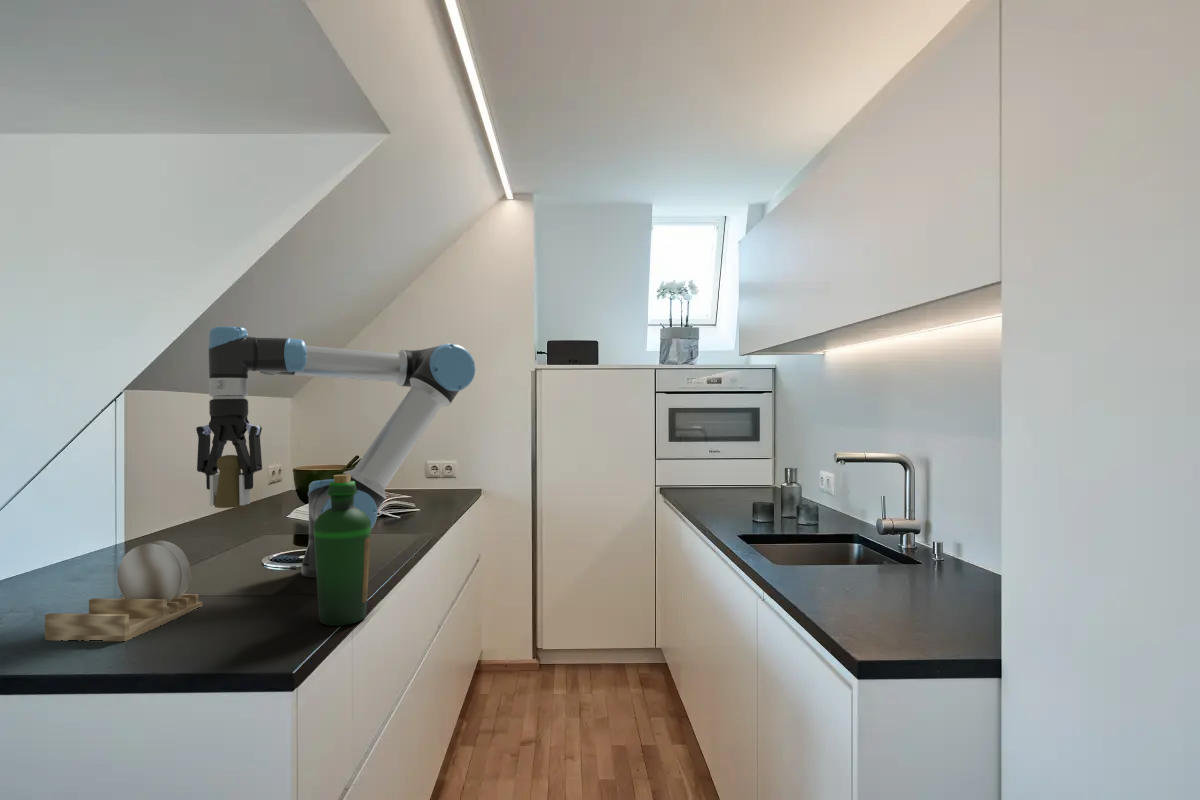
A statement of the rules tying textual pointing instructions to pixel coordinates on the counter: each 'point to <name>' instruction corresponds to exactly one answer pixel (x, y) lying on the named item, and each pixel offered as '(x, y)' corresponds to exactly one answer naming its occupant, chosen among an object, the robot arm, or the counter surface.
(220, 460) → the cork
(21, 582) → the counter surface
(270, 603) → the counter surface
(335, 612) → the bottle
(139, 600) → the rack
